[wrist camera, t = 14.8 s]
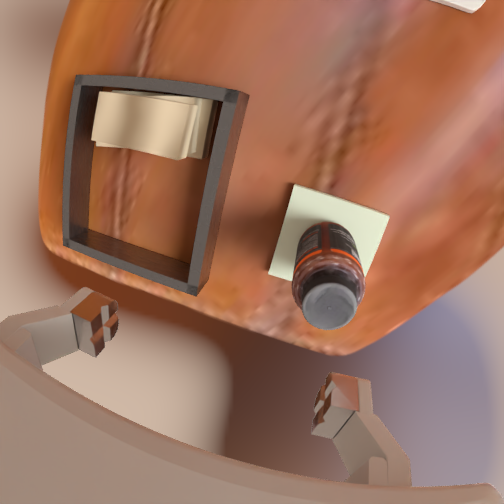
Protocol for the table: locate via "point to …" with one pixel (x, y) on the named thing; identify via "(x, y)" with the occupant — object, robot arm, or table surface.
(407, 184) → the table surface
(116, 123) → the offcut stack
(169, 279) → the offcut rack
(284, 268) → the mat
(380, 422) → the robot arm
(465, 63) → the table surface
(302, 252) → the supplement bottle
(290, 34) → the table surface
